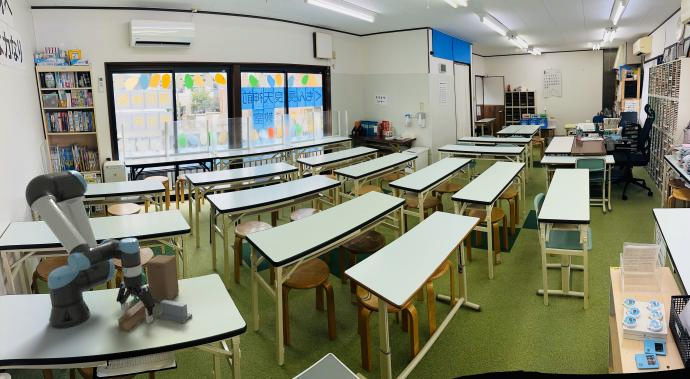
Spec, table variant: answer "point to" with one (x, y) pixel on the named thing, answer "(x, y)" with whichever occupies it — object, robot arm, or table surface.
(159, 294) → the wooden block
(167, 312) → the ridge stand
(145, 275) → the toy
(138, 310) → the beam
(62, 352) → the table surface
